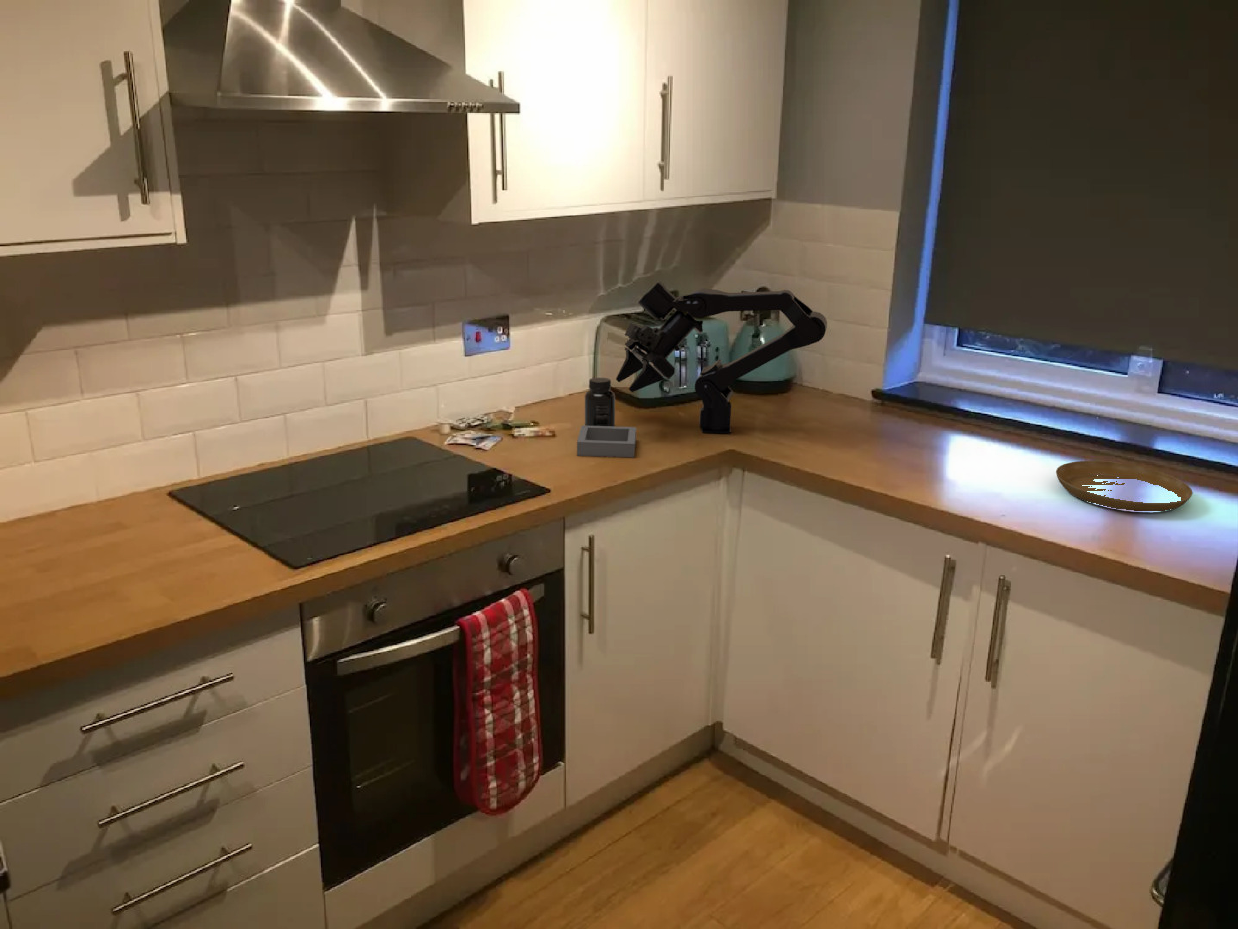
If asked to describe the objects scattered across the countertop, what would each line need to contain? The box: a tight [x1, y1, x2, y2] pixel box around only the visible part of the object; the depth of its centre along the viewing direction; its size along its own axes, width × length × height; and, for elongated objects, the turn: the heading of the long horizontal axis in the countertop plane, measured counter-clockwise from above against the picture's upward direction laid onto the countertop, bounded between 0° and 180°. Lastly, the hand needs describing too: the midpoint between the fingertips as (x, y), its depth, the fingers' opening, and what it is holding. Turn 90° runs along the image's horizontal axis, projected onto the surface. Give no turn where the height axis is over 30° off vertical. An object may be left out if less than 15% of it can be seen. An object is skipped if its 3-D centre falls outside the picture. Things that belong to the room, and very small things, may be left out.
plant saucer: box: [1055, 460, 1194, 511], centre depth 203 cm, size 24×24×3 cm
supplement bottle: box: [584, 377, 616, 427], centre depth 235 cm, size 7×7×12 cm
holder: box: [576, 425, 637, 458], centre depth 225 cm, size 12×12×3 cm
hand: (623, 385), depth 234 cm, fingers open, 9 cm apart
